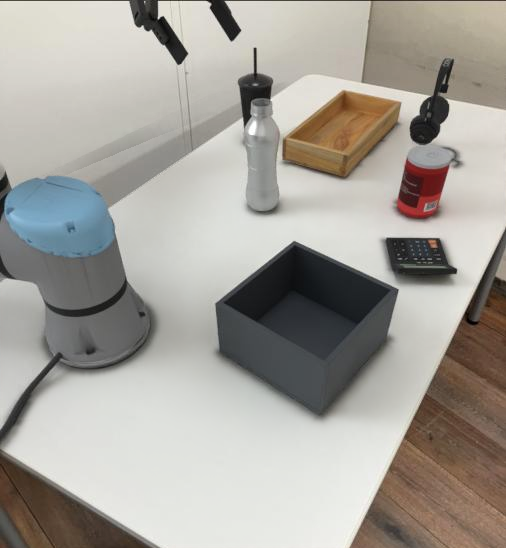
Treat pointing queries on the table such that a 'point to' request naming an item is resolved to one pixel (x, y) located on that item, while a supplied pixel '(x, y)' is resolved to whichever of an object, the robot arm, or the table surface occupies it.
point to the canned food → (423, 180)
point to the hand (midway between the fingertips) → (211, 47)
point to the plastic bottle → (262, 156)
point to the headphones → (433, 109)
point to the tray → (341, 132)
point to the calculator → (418, 256)
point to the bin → (305, 323)
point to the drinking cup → (253, 89)
